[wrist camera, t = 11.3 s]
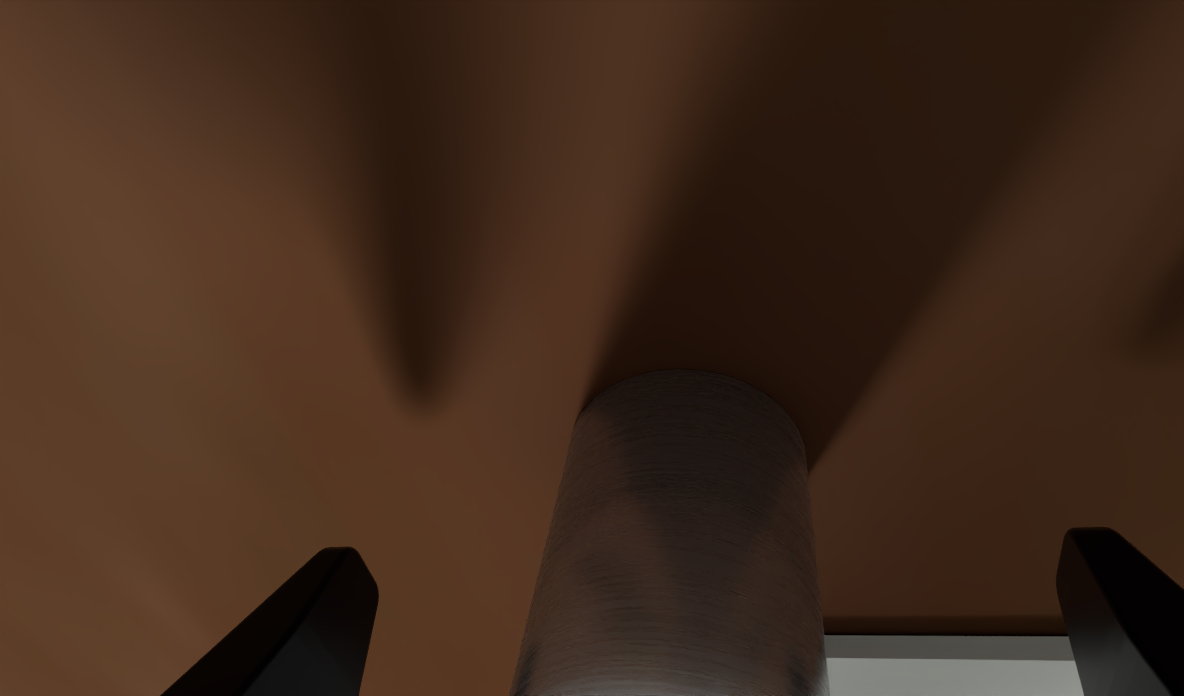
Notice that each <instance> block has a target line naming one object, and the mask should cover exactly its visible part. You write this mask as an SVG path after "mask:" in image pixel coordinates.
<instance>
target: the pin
mask: <svg viewBox="0 0 1184 696" xmlns="http://www.w3.org/2000/svg"><path fill="white" fill-rule="evenodd" d="M509 696H830V687H829V677H828V667H827V657H826V648H825V638H824V628H823V618H822V609H821V599H820V589H819V579H818V569H817V560H816V550H815V540H814V530H813V521H812V511H811V501H810V491H809V482H808V472H807V462H806V453H805V447H804V443H803V440H802V437H801V434H800V432H799V430H798V428H797V427H796V425H795V423H794V421H793V420H792V419H791V417H790V416H789V415H788V414H787V412H786V411H785V410H784V409H783V408H782V407H781V406H780V405H779V404H778V403H776V402H775V401H774V400H773V399H772V398H770V397H769V396H767V395H766V394H765V393H763V392H762V391H760V390H758V389H756V388H754V387H753V386H751V385H749V384H747V383H744V382H742V381H739V380H737V379H734V378H731V377H728V376H724V375H721V374H718V373H712V372H707V371H701V370H688V369H672V370H661V371H653V372H648V373H644V374H640V375H636V376H633V377H630V378H628V379H625V380H622V381H620V382H618V383H616V384H614V385H612V386H610V387H609V388H607V389H606V390H604V391H603V392H601V393H600V394H599V395H597V396H596V397H595V398H594V399H593V400H592V401H591V402H590V403H589V404H588V405H587V406H586V408H585V409H584V410H583V411H582V413H581V414H580V416H579V418H578V420H577V422H576V423H575V426H574V429H573V433H572V436H571V440H570V444H569V449H568V453H567V457H566V461H565V465H564V469H563V473H562V478H561V482H560V486H559V490H558V494H557V498H556V503H555V507H554V511H553V515H552V519H551V523H550V527H549V532H548V536H547V540H546V544H545V548H544V552H543V557H542V561H541V565H540V569H539V573H538V577H537V581H536V586H535V590H534V594H533V598H532V602H531V606H530V611H529V615H528V619H527V623H526V627H525V631H524V635H523V640H522V644H521V648H520V652H519V656H518V660H517V665H516V669H515V673H514V677H513V681H512V685H511V689H510V694H509Z"/></svg>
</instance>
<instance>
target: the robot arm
mask: <svg viewBox="0 0 1184 696" xmlns="http://www.w3.org/2000/svg"><path fill="white" fill-rule="evenodd" d="M1056 587H1057V594H1058V599H1059V603H1060V607H1061V610H1062V614H1063V618H1064V622H1065V625H1066V629H1067V633H1068V637H1069V641H1070V644H1071V648H1072V652H1073V656H1074V659H1075V663H1076V667H1077V671H1078V675H1079V678H1080V682H1081V686H1082V690H1083V693H1084V696H1184V589H1183V588H1181V587H1180V586H1179V585H1178V584H1177V583H1176V582H1174V581H1173V580H1172V579H1171V578H1170V577H1169V576H1168V575H1166V574H1165V573H1164V572H1163V571H1162V570H1161V569H1159V568H1158V567H1157V566H1156V565H1155V564H1154V563H1152V562H1151V561H1150V560H1149V559H1148V558H1147V557H1146V556H1144V555H1143V554H1142V553H1141V552H1140V551H1139V550H1137V549H1136V548H1135V547H1134V546H1133V545H1132V544H1130V543H1129V542H1128V541H1127V540H1126V539H1125V538H1124V537H1122V536H1121V535H1120V534H1119V533H1118V532H1116V531H1114V530H1112V529H1110V528H1107V527H1083V528H1071V529H1069V530H1068V531H1067V532H1066V533H1065V536H1064V539H1063V544H1062V550H1061V555H1060V560H1059V565H1058V570H1057V575H1056ZM378 599H379V593H378V587H377V584H376V582H375V580H374V578H373V576H372V575H371V573H370V571H369V570H368V568H367V566H366V564H365V563H364V561H363V559H362V558H361V556H360V554H359V553H358V551H357V550H356V549H354V548H352V547H328V548H324V549H322V550H321V551H319V552H318V553H317V554H316V555H315V556H313V557H312V558H311V559H310V560H309V561H308V562H307V563H306V564H305V565H304V566H302V567H301V568H300V569H299V570H298V571H297V572H296V573H295V574H294V575H292V576H291V577H290V578H289V579H288V580H287V581H286V582H285V583H284V584H283V585H281V586H280V587H279V588H278V589H277V590H276V591H275V592H274V593H273V594H272V595H270V596H269V597H268V598H267V599H266V600H265V601H264V602H263V603H262V604H261V605H259V606H258V607H257V608H256V609H255V610H254V611H253V612H252V613H251V614H250V615H248V616H247V617H246V618H245V619H244V620H243V621H242V622H241V623H240V624H239V625H237V626H236V627H235V628H234V629H233V630H232V631H231V632H230V633H229V634H228V635H226V636H225V637H224V638H223V639H222V640H221V641H220V642H219V643H218V644H217V645H215V646H214V647H213V648H212V649H211V650H210V651H209V652H208V653H207V654H206V655H204V656H203V657H202V658H201V659H200V660H199V661H198V662H197V663H196V664H194V665H193V666H192V667H191V668H190V669H189V670H188V671H187V672H186V673H185V674H183V675H182V676H181V677H180V678H179V679H178V680H177V681H176V682H175V683H174V684H172V685H171V686H170V687H169V688H168V689H167V690H166V691H165V692H164V693H163V694H161V695H160V696H359V691H360V686H361V682H362V677H363V672H364V668H365V663H366V658H367V653H368V649H369V644H370V639H371V634H372V630H373V625H374V620H375V616H376V611H377V606H378Z"/></svg>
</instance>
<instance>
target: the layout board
mask: <svg viewBox="0 0 1184 696" xmlns="http://www.w3.org/2000/svg"><path fill="white" fill-rule="evenodd" d="M824 638H825V648H826V657H827V667H828V677H829V687H830V696H1084V693H1083V690H1082V686H1081V682H1080V678H1079V675H1078V671H1077V667H1076V663H1075V659H1074V656H1073V652H1072V648H1071V644H1070V641H1069V637H1061V636H860V635H824Z"/></svg>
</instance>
